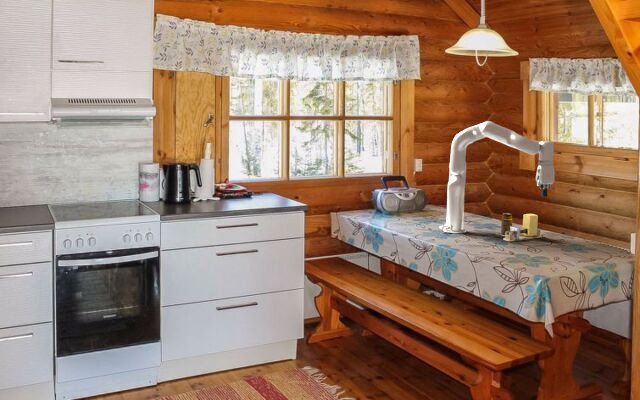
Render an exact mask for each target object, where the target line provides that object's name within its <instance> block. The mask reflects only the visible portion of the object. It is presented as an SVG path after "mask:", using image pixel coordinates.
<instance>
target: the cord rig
mask: <svg viewBox="0 0 640 400" xmlns="http://www.w3.org/2000/svg"><path fill="white" fill-rule="evenodd" d="M522 233H528V229H526V230H523V229H520V234H522ZM513 234H515V232H514V231H506V232H505V236H504V238H503V239H502V240H503V241H506V242H515V241H524V240H533V239H539V238H540V237H541V238H543V236H542V235H541V228H539V227H537V235H533V236H527V235H520V239H514V238H513Z"/></svg>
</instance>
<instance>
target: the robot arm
mask: <svg viewBox="0 0 640 400" xmlns="http://www.w3.org/2000/svg"><path fill="white" fill-rule="evenodd" d="M485 138H489V139H491V140H493V141H496V142H499V143H501V144H502V145H506V146H508V147H511V148H513V149H516V150H518V151H521V152H523V153H526V154H528V155H530V156H535V155H537V154H538V162H537V169H536V173H535V174H536V175H535V182H536V186H537V187H539V189H540V196H541V197H548V190H549V189H550V186H552V185H553V184H554V183H555V167H554V152H555V151H554V149H555V144H554V142H553V141H551V140H542V141H541V140H535V139H534V140H533V139H530V138H527V137H525V136H522V135H521V134H518V133H517V132H516V131H514V130H512V129H510V128H506V127H505V126H501V125H500V124H497V123H495V122H493V121H490V120H487V121H484V122H482V123H479V124H476V125H473V126H470V127H467V128H465V129H464V130H462V131H460V132H459V133H457V134H456V135H455V136H454V138H453V140H452V142H451V146H450V147H451V148H450V159H449V165H448V168H449V176H448V183H447V190H446V191H447V199H446V223H444V225H439V229H440V230H443V232H444V233H449V234H450V233H451V234H464V233H466V229H465V228H464V214H465V213H464V211H465V188H466V178H467V162H466V156H467V155H466V154H467V148H468V146H469V145H470V144H473V143H474V142H476V141H479V140H482V139H485Z"/></svg>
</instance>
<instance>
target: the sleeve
mask: <svg viewBox="0 0 640 400" xmlns="http://www.w3.org/2000/svg"><path fill="white" fill-rule="evenodd" d="M522 217H523V218H522V230H526V229H528V233H521V235H522V236H526V235H527V236H533V235H537V228H538V221H539V219H538V218H539V215H538V214H534V213H526V214H523V216H522Z"/></svg>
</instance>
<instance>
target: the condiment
mask: <svg viewBox="0 0 640 400" xmlns="http://www.w3.org/2000/svg"><path fill="white" fill-rule="evenodd" d="M501 216H502V217H501V222H500V224H501V226H500V232H497V233H496V232H495V233H494V234H495V235H499V236H502V237H505V232H506V231H510V226H513V214H512V213H509V212H504V213H502V215H501Z"/></svg>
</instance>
